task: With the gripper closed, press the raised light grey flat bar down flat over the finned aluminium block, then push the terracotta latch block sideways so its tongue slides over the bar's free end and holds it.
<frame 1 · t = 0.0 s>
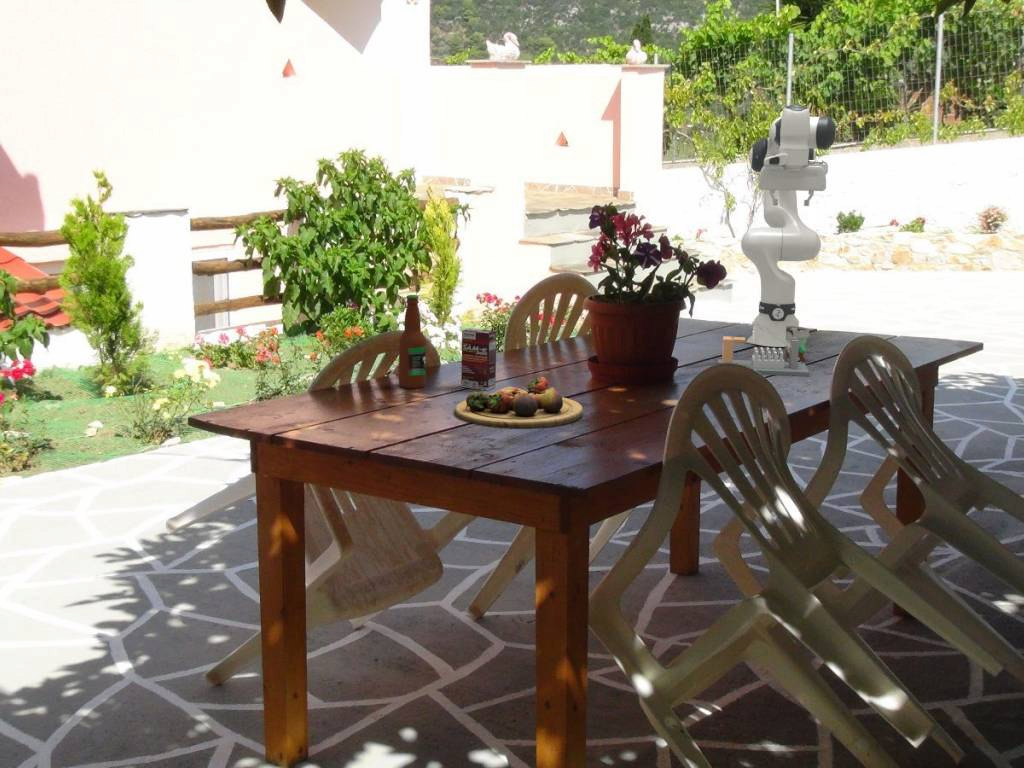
hand: (790, 205, 392), 48 cm above the table, tool pointing down, fingers open, 8 cm apart
food container: (797, 361, 401), on the table
latch: (733, 350, 384), point 5 cm above the table, slide at 0.0 cm
heat sink: (762, 369, 384), on the table
light grey flat bar: (775, 336, 382), point 10 cm above the table, hinge at -30.0°
supplement box: (478, 388, 350), on the table
wooden plate with food: (518, 416, 319), on the table
bottle: (412, 387, 351), on the table
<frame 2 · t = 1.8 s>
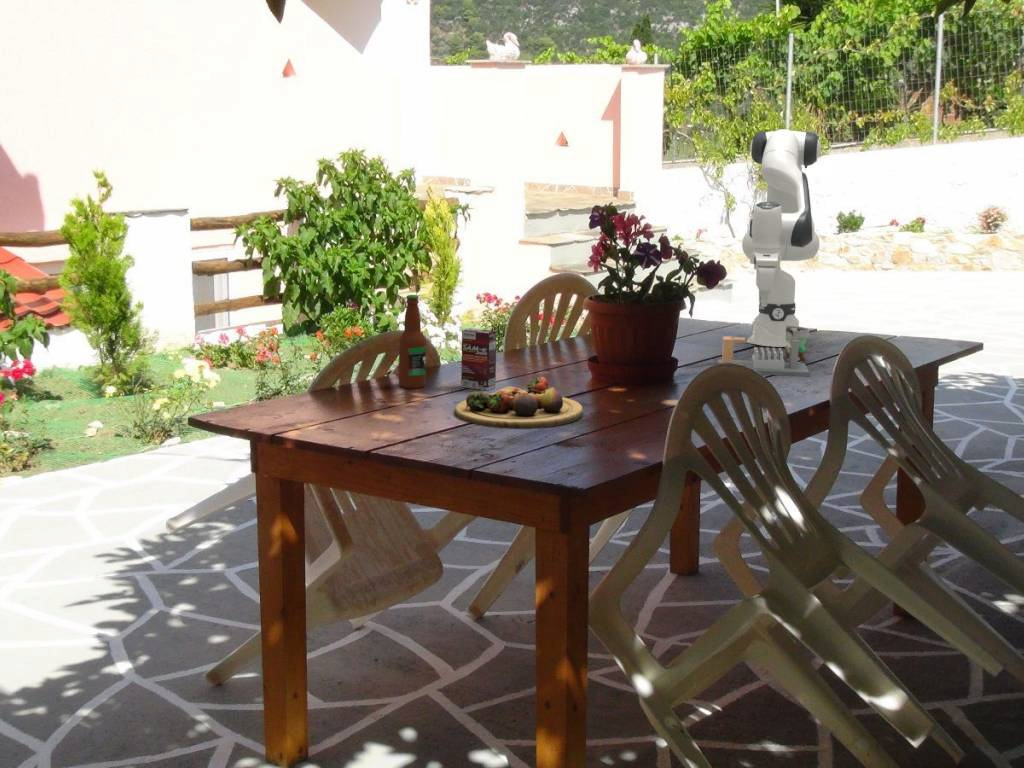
hand: (762, 304, 380), 20 cm above the table, tool pointing down, fingers open, 8 cm apart
nothing on the table moved.
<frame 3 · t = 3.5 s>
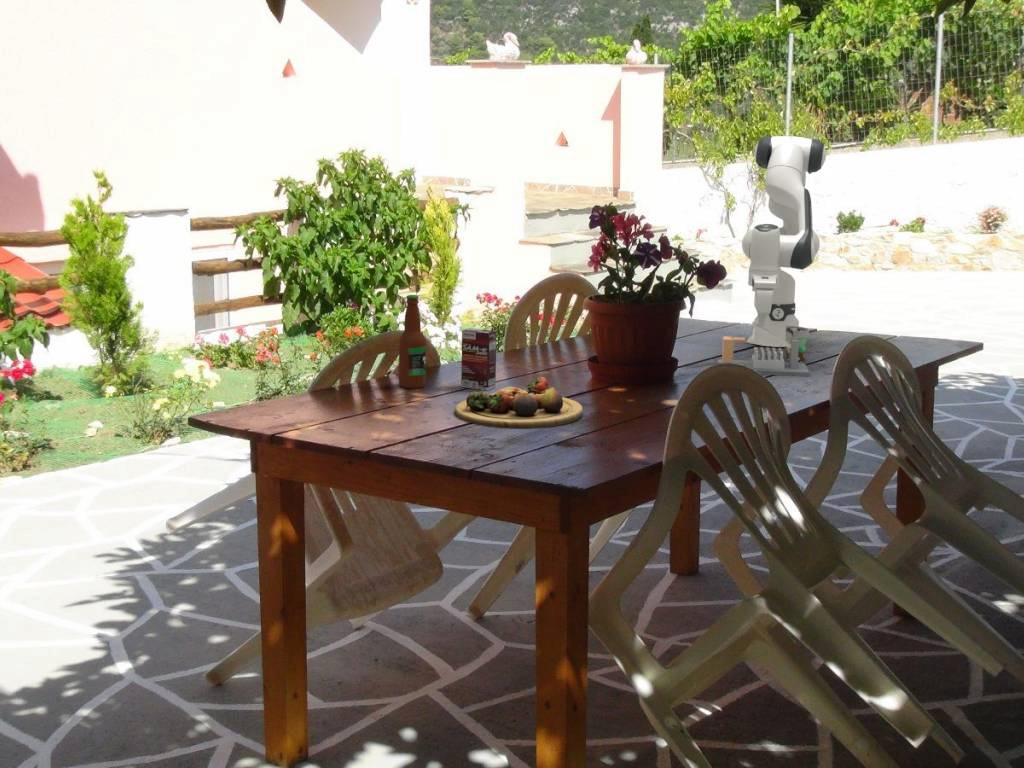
hand: (761, 326, 381), 13 cm above the table, tool pointing down, fingers closed, pressing on light grey flat bar
light grey flat bar: (774, 336, 382), point 10 cm above the table, hinge at -27.5°, touching gripper
everything else where it was.
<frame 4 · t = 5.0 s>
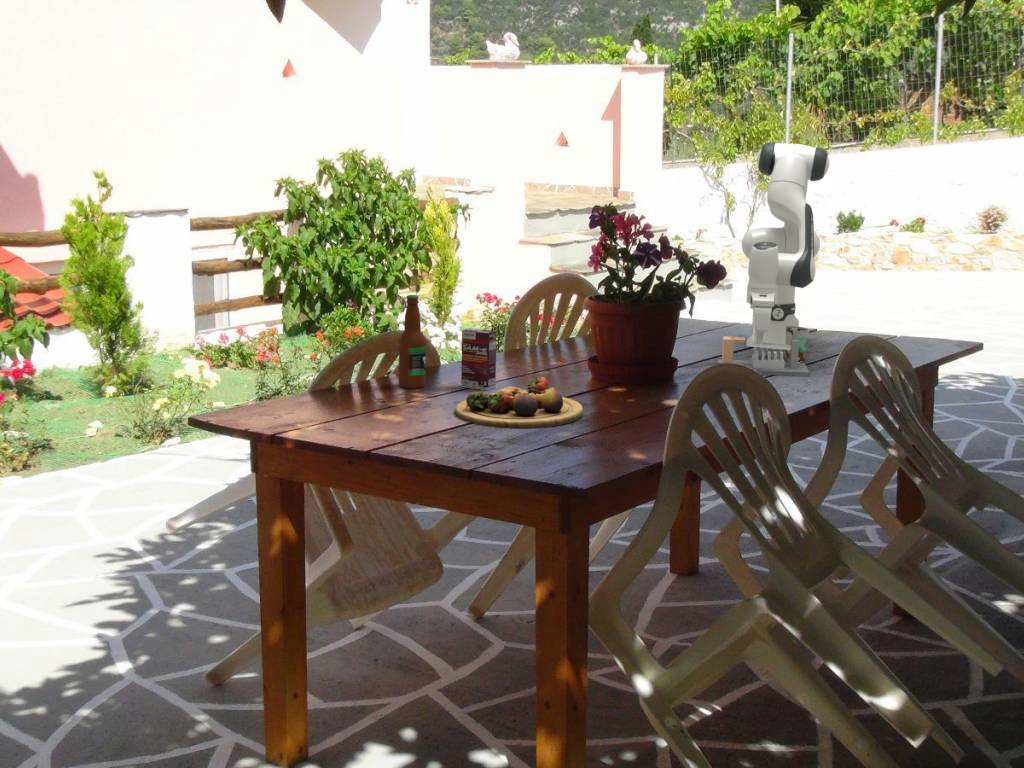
hand: (759, 343, 382), 8 cm above the table, tool pointing down, fingers closed, pressing on light grey flat bar
light grey flat bar: (771, 345, 382), point 7 cm above the table, hinge at -2.8°, touching gripper
everything else where it was.
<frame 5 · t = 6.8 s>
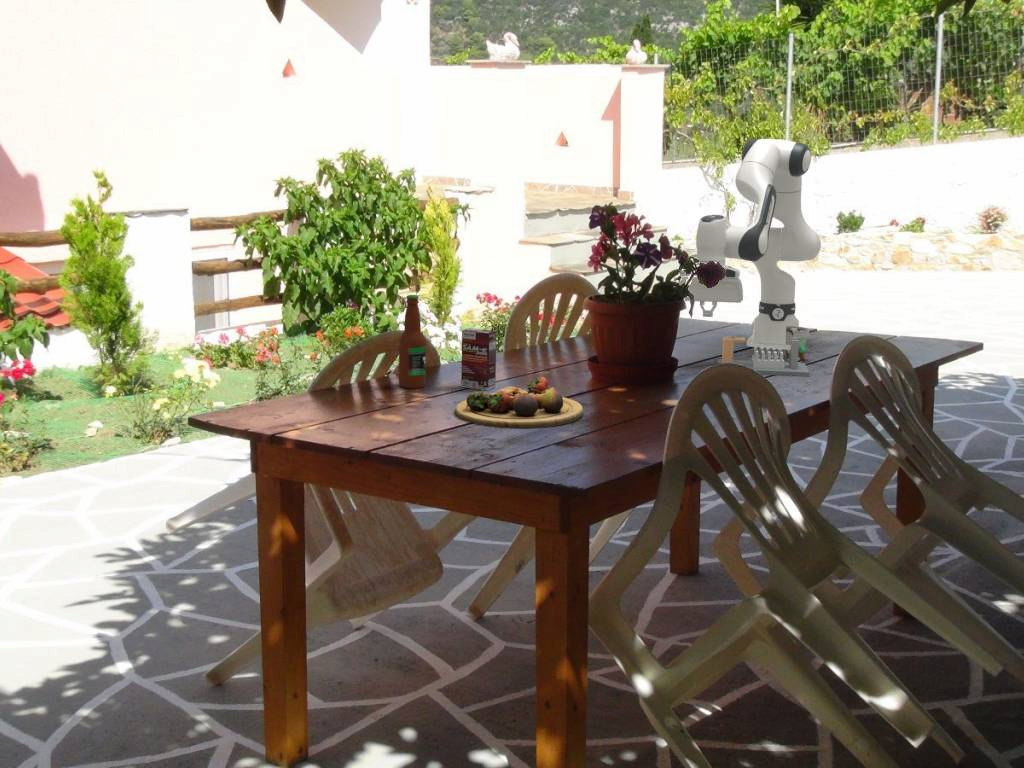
hand: (707, 316, 383), 15 cm above the table, tool pointing down, fingers closed
light grey flat bar: (771, 345, 382), point 7 cm above the table, hinge at -2.7°
everything else where it was.
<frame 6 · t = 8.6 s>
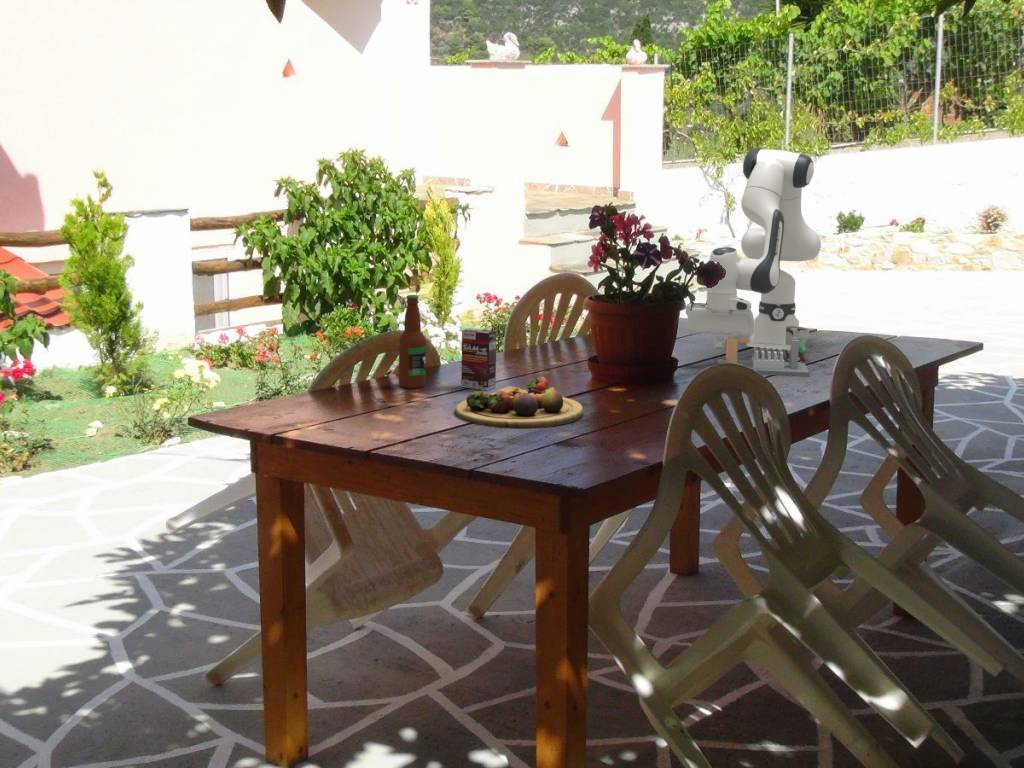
hand: (719, 348, 385), 6 cm above the table, tool pointing down, fingers closed
latch: (737, 351, 384), point 5 cm above the table, slide at 1.2 cm, touching gripper
everything else where it was.
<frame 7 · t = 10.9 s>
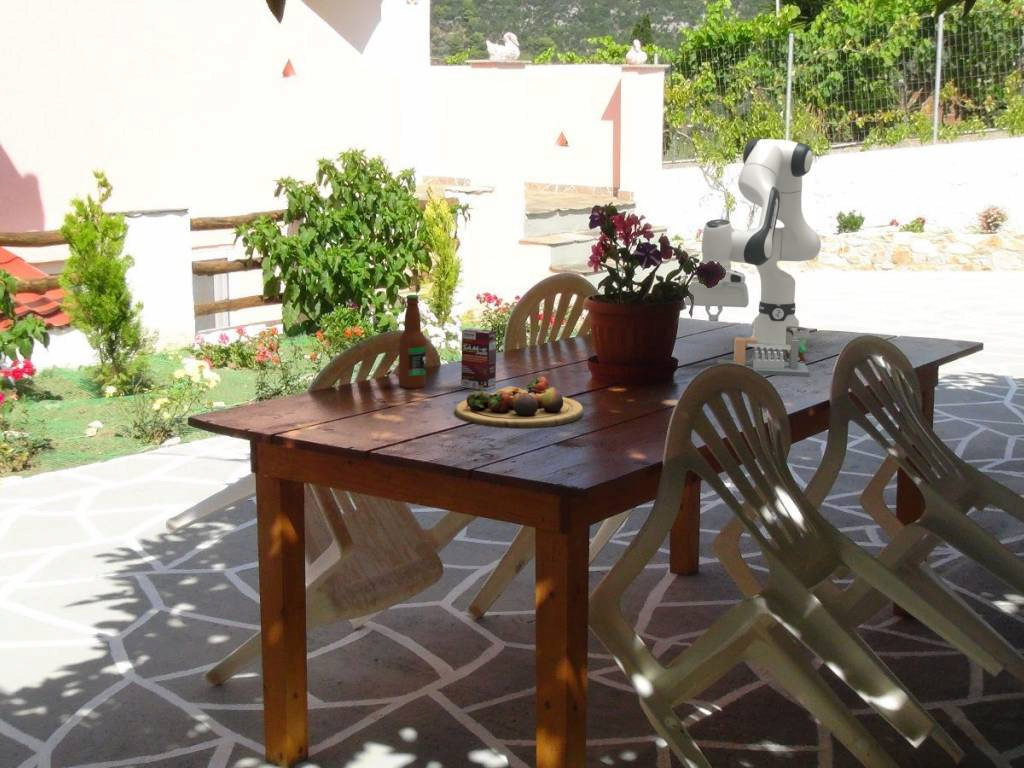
hand: (713, 320, 384), 14 cm above the table, tool pointing down, fingers closed
latch: (745, 351, 384), point 5 cm above the table, slide at 3.5 cm
everything else where it was.
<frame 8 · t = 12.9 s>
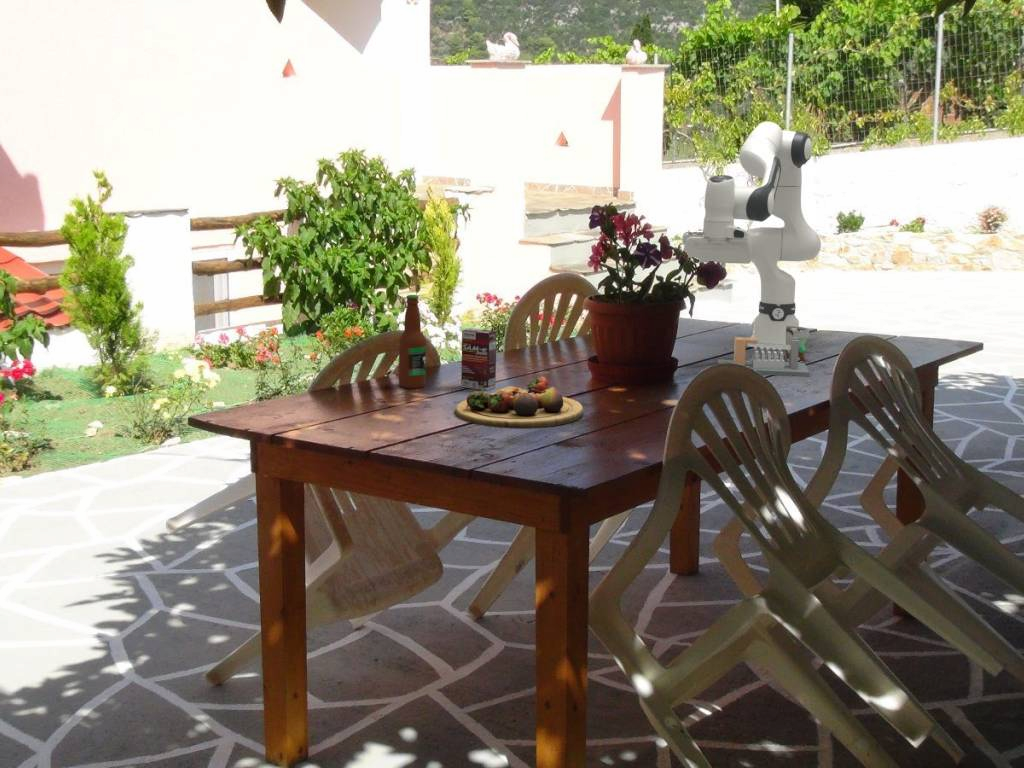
hand: (716, 278, 381), 27 cm above the table, tool pointing down, fingers closed
nothing on the table moved.
at the end: light grey flat bar at -3° (first picture: -30°); latch slide at 3.5 cm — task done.
